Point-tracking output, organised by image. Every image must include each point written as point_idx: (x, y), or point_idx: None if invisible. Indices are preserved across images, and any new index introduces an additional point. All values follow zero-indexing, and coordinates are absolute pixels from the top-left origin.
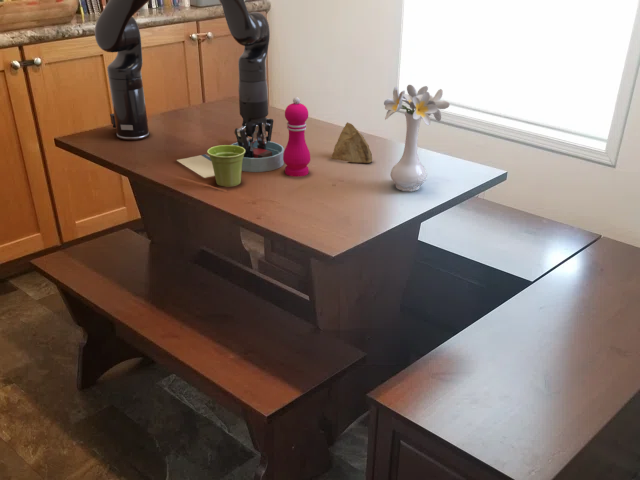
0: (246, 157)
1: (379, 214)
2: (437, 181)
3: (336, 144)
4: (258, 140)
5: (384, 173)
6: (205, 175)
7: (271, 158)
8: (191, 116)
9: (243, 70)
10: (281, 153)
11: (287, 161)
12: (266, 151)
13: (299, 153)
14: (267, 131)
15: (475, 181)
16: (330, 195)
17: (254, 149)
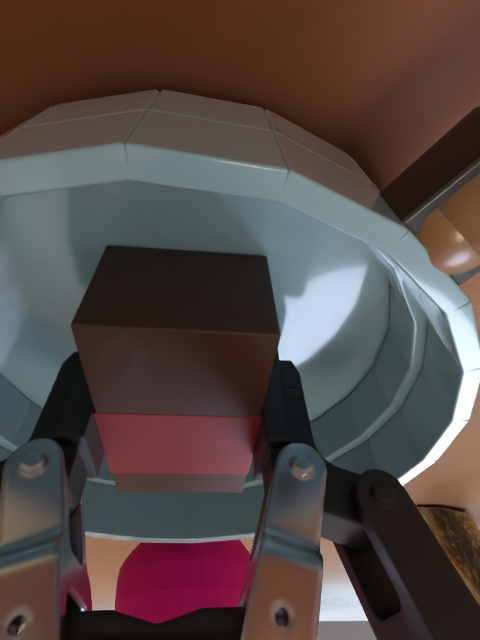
0: (57, 393)
1: (101, 609)
2: (334, 606)
3: (465, 582)
4: (275, 496)
5: (341, 575)
6: None
7: (120, 528)
8: None
9: None
10: (221, 537)
11: (117, 583)
12: (220, 476)
13: None
14: (382, 623)
15: (360, 618)
16: (109, 570)
17: (201, 416)
